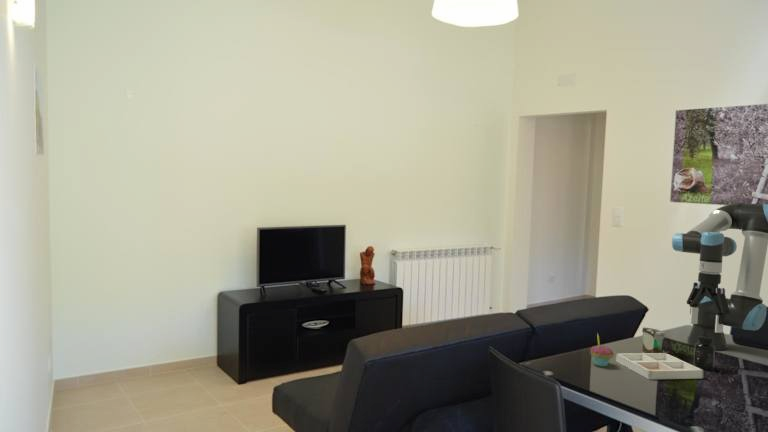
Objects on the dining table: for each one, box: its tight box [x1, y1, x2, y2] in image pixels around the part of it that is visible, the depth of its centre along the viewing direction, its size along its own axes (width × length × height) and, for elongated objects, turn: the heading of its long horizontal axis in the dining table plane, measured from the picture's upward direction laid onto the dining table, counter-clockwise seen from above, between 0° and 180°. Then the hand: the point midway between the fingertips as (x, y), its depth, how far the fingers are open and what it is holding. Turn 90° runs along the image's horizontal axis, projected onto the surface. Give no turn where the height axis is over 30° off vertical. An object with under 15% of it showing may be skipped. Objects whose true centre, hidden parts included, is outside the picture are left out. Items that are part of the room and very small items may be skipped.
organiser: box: [615, 352, 705, 380], centre depth 221 cm, size 21×21×3 cm
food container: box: [641, 327, 666, 353], centre depth 241 cm, size 12×6×10 cm, turn 179°
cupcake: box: [589, 332, 615, 367], centre depth 225 cm, size 9×8×12 cm
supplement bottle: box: [693, 336, 716, 371], centre depth 225 cm, size 7×7×12 cm
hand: (705, 328), depth 225 cm, fingers open, 13 cm apart
